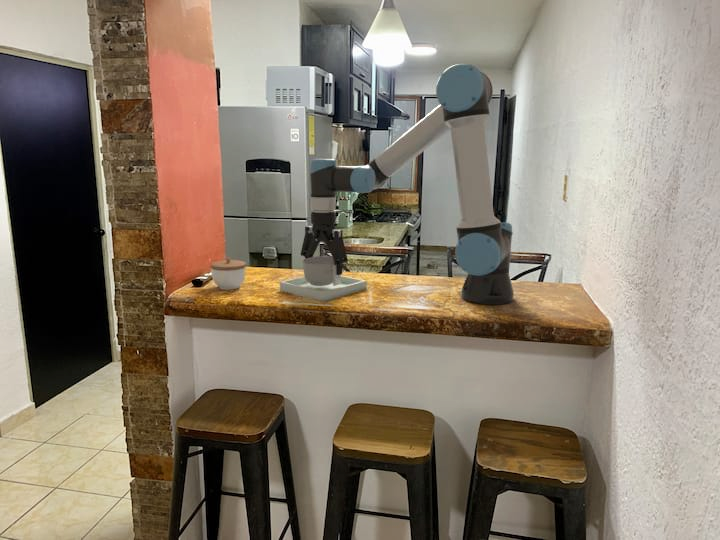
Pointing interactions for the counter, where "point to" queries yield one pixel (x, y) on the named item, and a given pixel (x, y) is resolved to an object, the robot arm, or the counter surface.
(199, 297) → the counter surface
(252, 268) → the counter surface
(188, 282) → the counter surface
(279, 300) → the counter surface
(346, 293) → the tray
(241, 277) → the lidded jar
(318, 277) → the teacup
